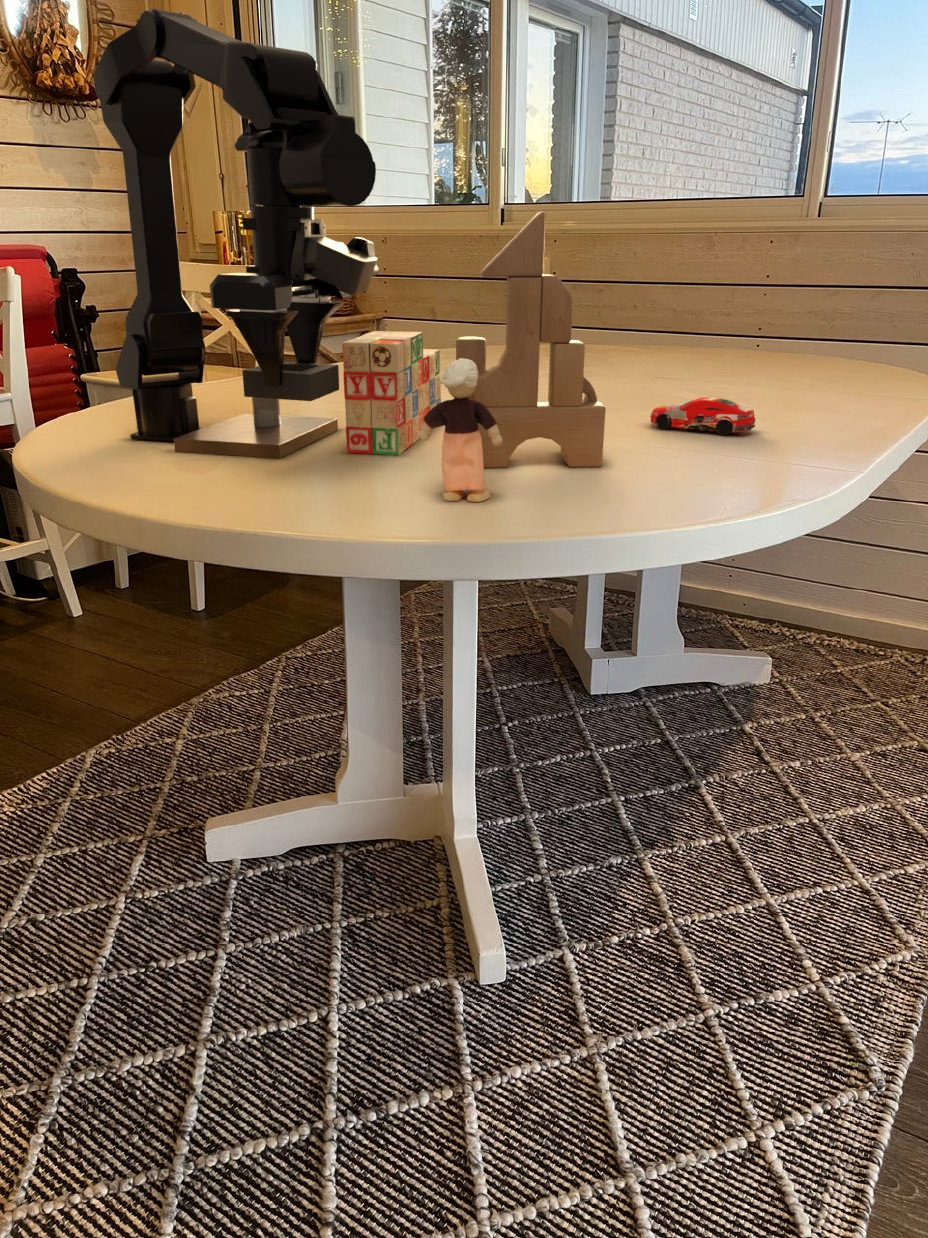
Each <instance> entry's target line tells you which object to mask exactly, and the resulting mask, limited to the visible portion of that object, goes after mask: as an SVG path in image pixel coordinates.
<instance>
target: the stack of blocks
mask: <svg viewBox="0 0 928 1238" xmlns="http://www.w3.org/2000/svg"><path fill="white" fill-rule="evenodd" d="M341 347H342V348H341V349H342V364H343V365H342V366H343V374H342V375H343V392H344V393H343V395H344V397H343V398H344V406H345V424H346V425H345V436H346V452H347V454H362V455H364V454H366V455H372V454H374V455H384V456H386V455H387V456H399V455H401V454H402V453H403V452H405V451H406V450H407V449H409V448H410V447H411V446H412V445H413V444H415V443H416V442H417V441H418V440H420V438H419V436H418V434H419V432H420V431H421V429H422V425H423V422H424V420H423V418H424V417H425V415H426V414H427V413H428V412H429V411H430V410H431V409H432V408H433V407H435V406H436V405H438V404H439V403H441V402H442V383H441V382H442V377H441V376H442V375H441V373H440V372H441V369H440V368H441V361H440V359H441V355H440V353H441V351H440V349H434V348H433V349H431V348H424V332H423V331H392V330H391V331H389V330H387V331H386V330H385V331H384V330H374V331H370V332H367V333H365V334H362V335H359V336H358V337H355V338H352V339H348V340H345V341H342V345H341Z"/></svg>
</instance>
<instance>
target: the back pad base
mask: <svg viewBox="0 0 928 1238" xmlns="http://www.w3.org/2000/svg"><path fill="white" fill-rule="evenodd" d="M251 404H252V413H242V414H239V415H236V416H234V417H230V418H227V419H225V420H222V421H219V422H216V423H214V424H211V425H207V426H205V427H201V428H202V429H199V430H196V431H194V432H191V433H188V434H185V435H182V436H180V437H177V438H174V441H173V445H174V451H175V452H177V453H178V452H179V453H193V454H206V455H209V454H210V455H221V456H238V457H252V458H253V457H254V458H266V459H267V458H268V459H281V458H283V457H285V456H287V455H289V454H292V453H294V452H295V451H298V450H299V449H300V450H301V449H302V448H304V447H306V446H308V445H310V444H312V443H314V442H316V441H318V440H320V439H323V438H325V437H326V436H329V435H331V434H333V433H335V432H337V431H339V423H338V418H336V417H319V416H318V417H317V416H303V415H302V416H301V415H300V416H298V415H283V414H281V409H280V408H281V406H280V399H270V398H256V397H251Z"/></svg>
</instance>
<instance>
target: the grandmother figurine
mask: <svg viewBox="0 0 928 1238" xmlns="http://www.w3.org/2000/svg"><path fill="white" fill-rule="evenodd" d="M441 376H442V377H441V385H444V387H445V388H446V389H447V391H448V393H449V395H450V396H451V397H452V398H451V399H448V400H444V401H441V403H439V404H438V405H436V406H435V407H433V408H432V409H431V410H430V411H429V412H428V413H427V414H426V415H425V417H424V418H423V420H424V422H423V425H422V429H421V431H420V432H419V434H418V436H419V440H421V441H424V442H425V441H428V440H430V439H429V438H430V435H431V433H432V432H433V430H434V429H436V428H440V427H444V431H443V434H442V444H441V445H442V446H441V470H442V479H443V483H442V484H443V489H444V492H443V494H442V498H443V500H444V501H445V502H459V501H461V500H462V499H463V498H464V497H465V493H464V491H467V490H469V492H470V493H469V494H468V495H467V498H466V501H467V502H474V503H479V502H483V501H485V500H488V499H490V498H491V493H490V492H489V490H488V489H486V488H485V468H484V467H483V449H482V439H481V435H480V432H479V428H478V423H479V424H481V425H482V426H483V427H484V429H485V430H487V432H488V435H489V436H490V437H491V442H492V444H493V445H494V446H499V445H501V444H502V442H503V439H502V437H501V436H500V435H499V429H498V427H497V422H496V420H495V419H494V418H493V416H492V415H491V413H490V412H489V410H488V409H487V408H486V407H485V406H484V405H483V404H482V403H480V402H478V401H475V400H471V399H468V398H469V397H470V396H471V395H473V393H474V391H475V387H476V385H477V379H478V369H477V366H476V364H475V363H474V362H473V361H472V360H469V359H463V358H460V359H458V360H456V359H455V360H453V361H452V362H451V363H450V364H448V365H447V366H446V369H445V370H444V372H443V373H442V375H441Z"/></svg>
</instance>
